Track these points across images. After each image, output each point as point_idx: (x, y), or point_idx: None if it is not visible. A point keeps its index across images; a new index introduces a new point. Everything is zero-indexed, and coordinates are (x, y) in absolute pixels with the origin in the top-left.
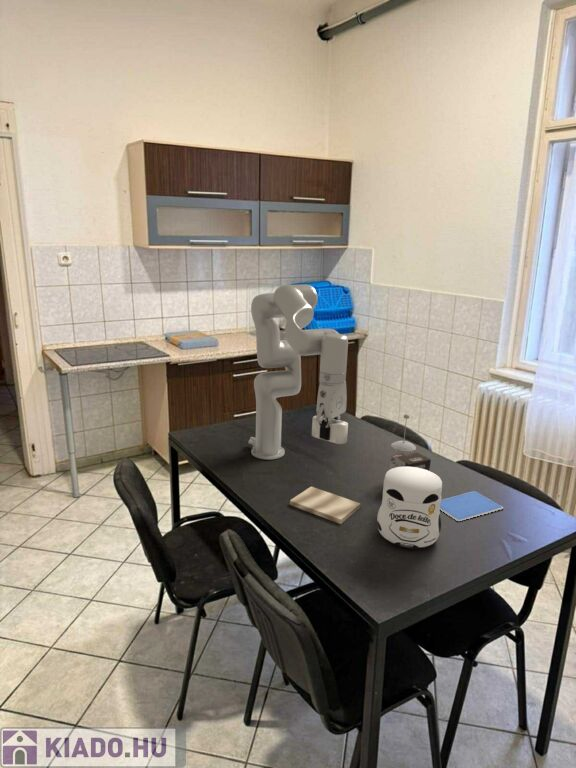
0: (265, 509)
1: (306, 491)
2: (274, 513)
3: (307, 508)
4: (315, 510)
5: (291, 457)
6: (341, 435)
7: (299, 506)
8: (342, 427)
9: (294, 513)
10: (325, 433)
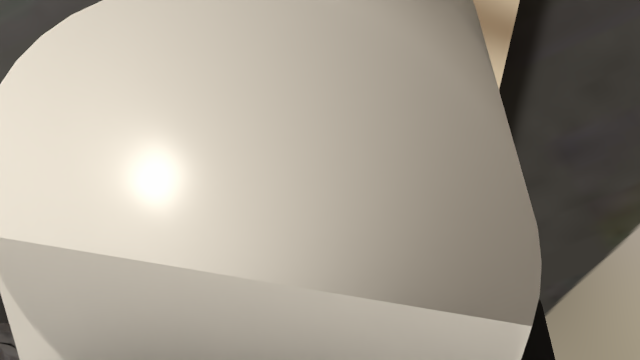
0: (576, 236)
1: None
2: (596, 187)
3: (504, 63)
4: (516, 11)
5: None
6: (473, 21)
7: None
8: (472, 94)
9: (552, 106)
10: (552, 349)
